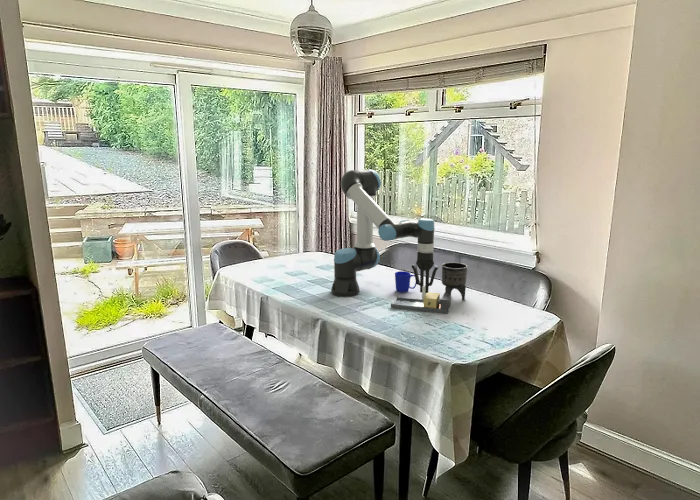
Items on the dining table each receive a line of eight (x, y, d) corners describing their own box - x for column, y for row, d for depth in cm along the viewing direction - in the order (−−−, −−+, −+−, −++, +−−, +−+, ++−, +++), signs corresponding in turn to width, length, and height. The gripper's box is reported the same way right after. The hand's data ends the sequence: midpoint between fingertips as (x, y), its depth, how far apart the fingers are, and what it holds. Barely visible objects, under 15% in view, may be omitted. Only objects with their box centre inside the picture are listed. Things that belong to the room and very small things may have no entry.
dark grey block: (440, 311, 222) (440, 299, 220) (444, 303, 233) (444, 292, 231) (446, 312, 221) (447, 300, 219) (450, 304, 232) (451, 292, 230)
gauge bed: (390, 308, 230) (390, 303, 230) (397, 300, 241) (397, 296, 241) (446, 314, 221) (446, 310, 221) (450, 306, 232) (450, 302, 232)
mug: (416, 294, 251) (417, 275, 249) (393, 292, 254) (394, 274, 252) (417, 289, 259) (418, 271, 257) (395, 288, 262) (395, 270, 259)
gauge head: (422, 309, 223) (422, 299, 222) (427, 301, 234) (427, 292, 233) (437, 311, 221) (437, 301, 220) (441, 303, 232) (442, 293, 231)
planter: (467, 296, 247) (468, 263, 243) (464, 304, 235) (466, 269, 231) (442, 294, 251) (443, 261, 247) (438, 301, 239) (439, 267, 235)
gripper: (410, 252, 223) (409, 299, 228) (437, 254, 219) (436, 302, 224) (413, 248, 230) (412, 295, 235) (440, 250, 226) (438, 298, 231)
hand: (424, 298), depth 230 cm, fingers closed
